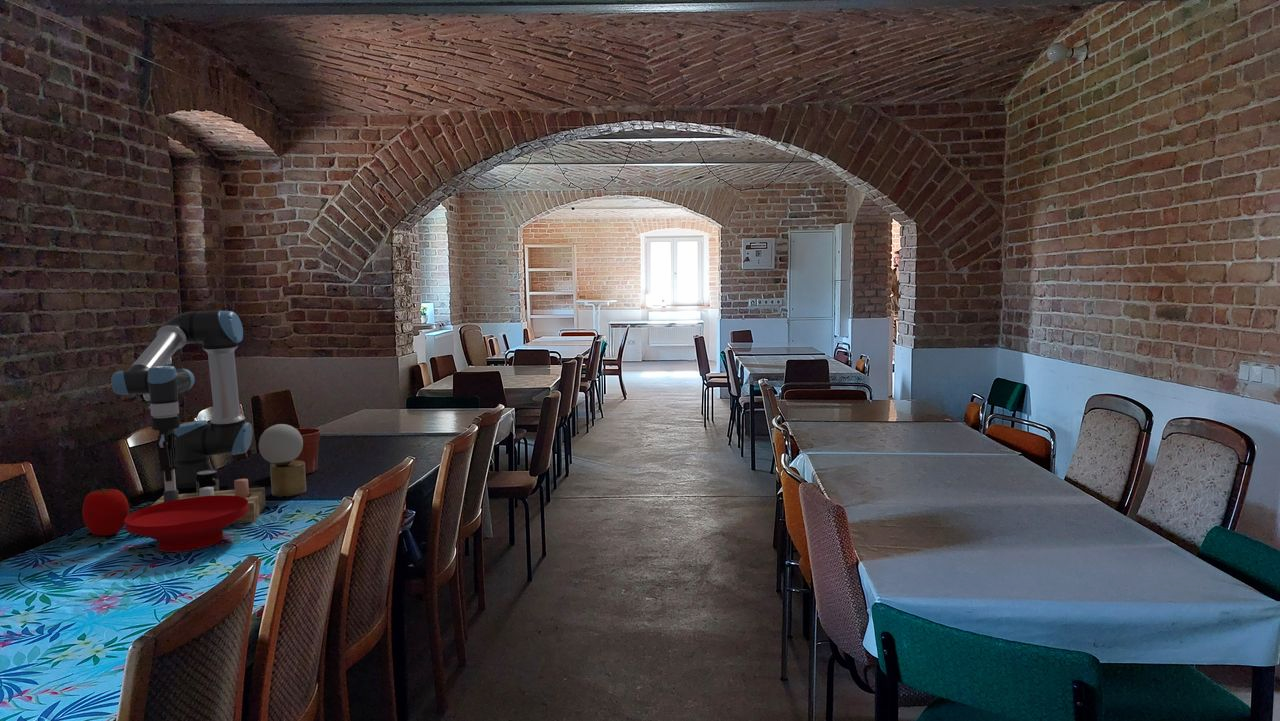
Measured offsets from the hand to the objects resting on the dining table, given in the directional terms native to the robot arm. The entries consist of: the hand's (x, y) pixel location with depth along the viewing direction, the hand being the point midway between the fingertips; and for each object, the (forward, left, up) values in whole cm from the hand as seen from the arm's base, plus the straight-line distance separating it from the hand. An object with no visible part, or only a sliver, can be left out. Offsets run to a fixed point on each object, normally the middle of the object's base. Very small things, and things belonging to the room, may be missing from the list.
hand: (170, 490), depth 241 cm
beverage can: (-14, +7, -10) cm, 18 cm away
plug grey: (0, +10, -9) cm, 14 cm away
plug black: (0, 0, -9) cm, 9 cm away
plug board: (0, +10, -10) cm, 14 cm away
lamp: (-23, +29, -10) cm, 38 cm away
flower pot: (-58, +30, -10) cm, 66 cm away
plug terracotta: (0, +20, -8) cm, 21 cm away
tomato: (+8, -15, -10) cm, 20 cm away
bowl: (+26, +11, -10) cm, 30 cm away
